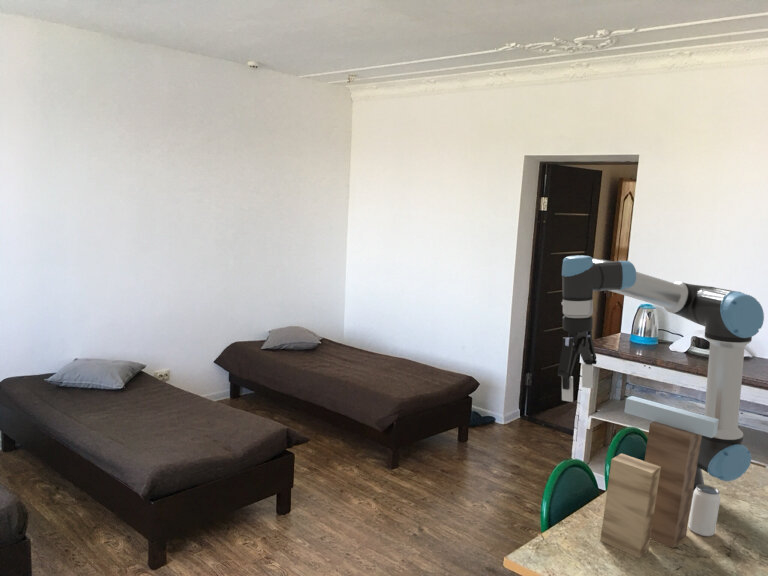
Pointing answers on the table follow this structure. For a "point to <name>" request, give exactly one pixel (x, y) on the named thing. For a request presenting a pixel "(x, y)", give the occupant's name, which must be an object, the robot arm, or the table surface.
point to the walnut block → (672, 479)
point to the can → (704, 510)
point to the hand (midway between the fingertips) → (577, 394)
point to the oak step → (630, 504)
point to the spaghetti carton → (672, 416)
